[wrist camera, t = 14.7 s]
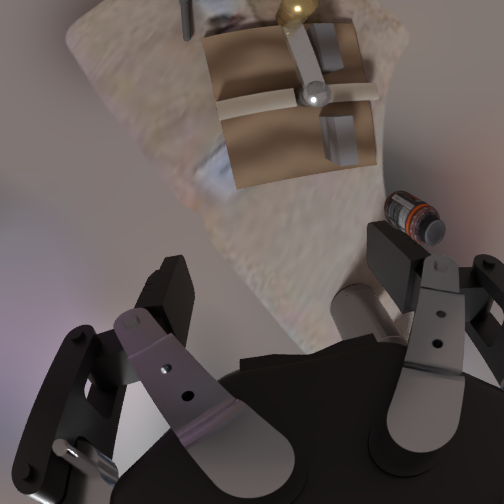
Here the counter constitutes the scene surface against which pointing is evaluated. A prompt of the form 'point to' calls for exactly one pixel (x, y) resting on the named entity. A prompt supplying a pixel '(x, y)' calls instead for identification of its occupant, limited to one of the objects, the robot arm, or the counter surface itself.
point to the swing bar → (303, 49)
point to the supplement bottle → (414, 218)
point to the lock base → (287, 126)
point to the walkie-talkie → (185, 19)
